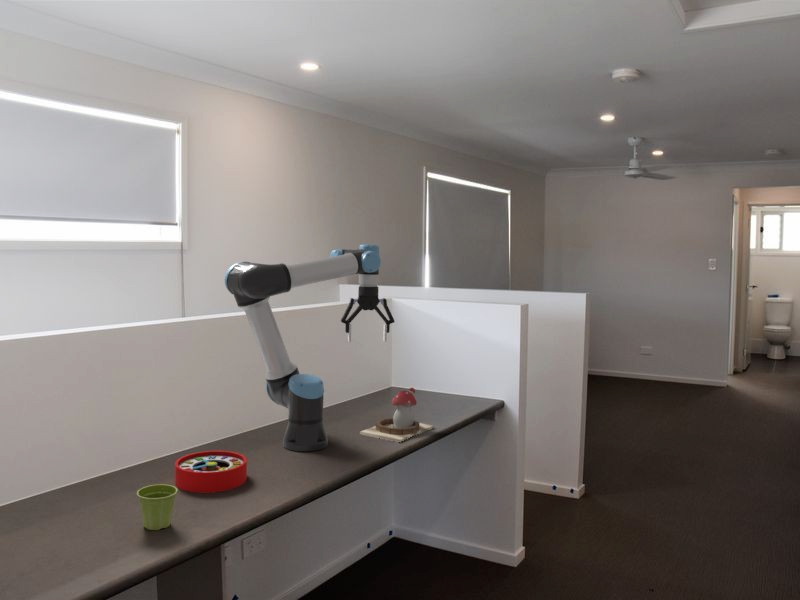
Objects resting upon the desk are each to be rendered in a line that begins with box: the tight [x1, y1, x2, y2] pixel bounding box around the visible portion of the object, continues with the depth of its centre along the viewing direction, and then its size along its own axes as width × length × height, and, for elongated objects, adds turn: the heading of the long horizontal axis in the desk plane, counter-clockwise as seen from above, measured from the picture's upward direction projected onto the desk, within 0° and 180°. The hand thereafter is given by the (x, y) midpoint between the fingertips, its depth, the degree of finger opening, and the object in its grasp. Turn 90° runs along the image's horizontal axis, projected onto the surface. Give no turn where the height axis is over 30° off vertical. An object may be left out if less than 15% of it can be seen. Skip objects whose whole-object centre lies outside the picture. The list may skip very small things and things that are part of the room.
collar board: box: [359, 417, 434, 443], centre depth 259 cm, size 24×17×3 cm
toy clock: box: [174, 450, 248, 494], centre depth 203 cm, size 20×6×20 cm
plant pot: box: [136, 483, 179, 531], centre depth 170 cm, size 9×9×9 cm
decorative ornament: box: [391, 387, 417, 428], centre depth 260 cm, size 9×6×15 cm
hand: (367, 341), depth 266 cm, fingers open, 13 cm apart
